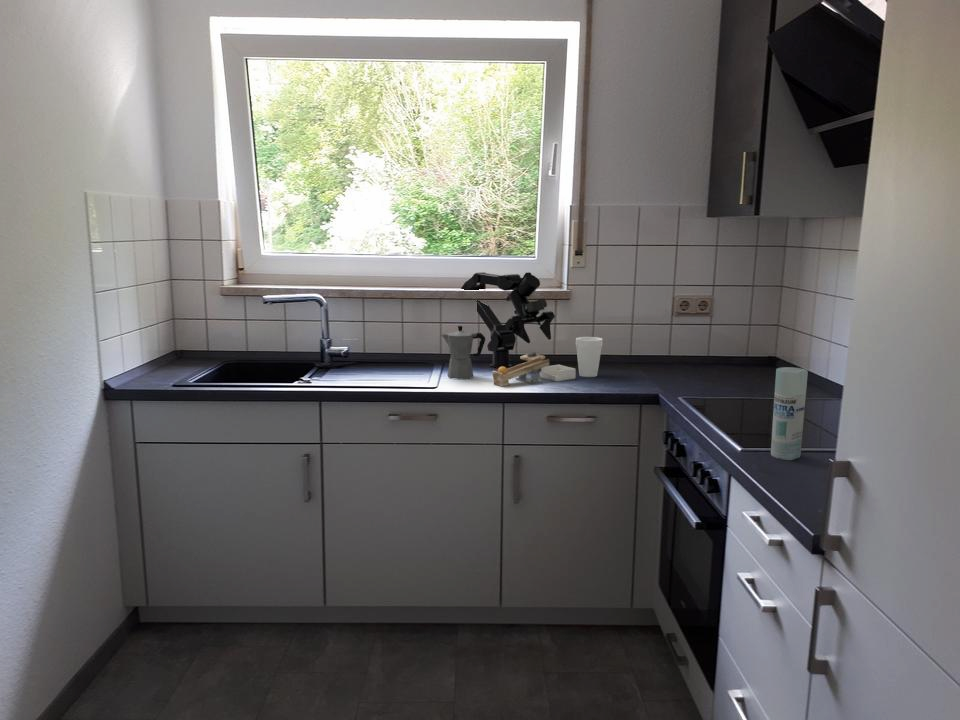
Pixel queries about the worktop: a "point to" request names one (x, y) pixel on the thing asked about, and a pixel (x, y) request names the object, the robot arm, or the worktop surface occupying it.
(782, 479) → the worktop surface
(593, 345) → the foam cup
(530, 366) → the lever
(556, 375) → the dish
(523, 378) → the fulcrum
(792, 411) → the spray paint can
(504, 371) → the ball
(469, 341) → the coffeepot
